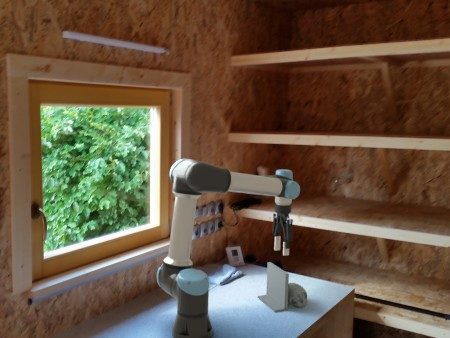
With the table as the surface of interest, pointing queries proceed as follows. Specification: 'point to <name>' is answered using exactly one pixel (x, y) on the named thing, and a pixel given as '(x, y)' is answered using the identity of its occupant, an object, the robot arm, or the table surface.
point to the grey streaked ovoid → (297, 295)
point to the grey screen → (276, 288)
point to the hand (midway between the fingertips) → (281, 252)
